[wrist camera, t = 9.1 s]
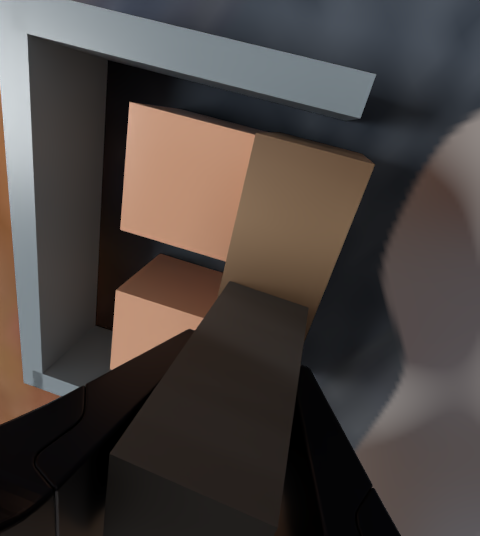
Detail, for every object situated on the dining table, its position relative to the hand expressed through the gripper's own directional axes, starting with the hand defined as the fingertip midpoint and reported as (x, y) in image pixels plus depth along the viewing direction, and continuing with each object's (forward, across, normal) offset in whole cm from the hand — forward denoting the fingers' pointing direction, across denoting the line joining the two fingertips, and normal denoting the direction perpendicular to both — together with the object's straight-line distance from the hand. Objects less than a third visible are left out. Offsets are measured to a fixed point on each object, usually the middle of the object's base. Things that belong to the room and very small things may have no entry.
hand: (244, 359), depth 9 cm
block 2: (+7, +3, +3) cm, 8 cm away
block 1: (+7, +3, -4) cm, 8 cm away
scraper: (+6, 0, 0) cm, 6 cm away
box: (+6, +4, 0) cm, 8 cm away
